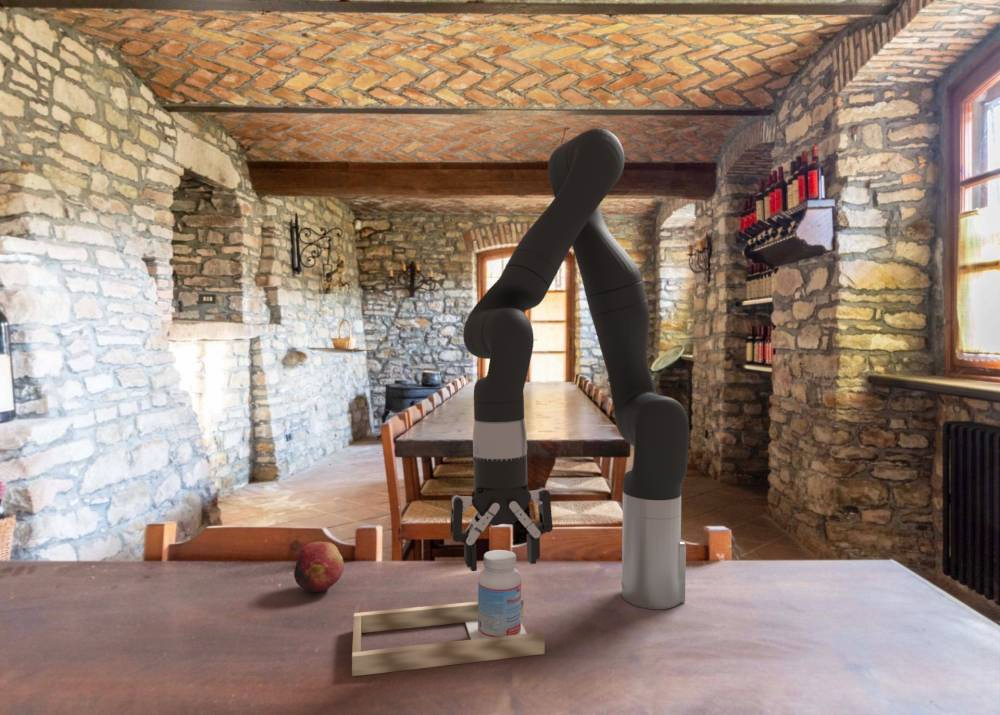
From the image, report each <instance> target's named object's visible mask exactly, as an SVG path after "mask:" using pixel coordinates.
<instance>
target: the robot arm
mask: <svg viewBox="0 0 1000 715" xmlns="http://www.w3.org/2000/svg"><path fill="white" fill-rule="evenodd" d="M547 163H548V165H547V175H548V181H549V185H550V187H551V190H552V193H553V196H554V199H553V200H552V201H551V203H550V204H549V205H548V206H547V208H545V210H544V211H543V212H542V213H541V215H540V216H539V217H538V218H537V219H536V221H535V222H534V223H533V224H532V225H531V227H530V228H529V229H528V230H527V231H526V233H525V234H524V235H523V237H522V238H521V239H520V241H519V242H518V244H517V246H516V247H515V249H514V250H513V252H512V254H511V256H510V258H509V260H508V261H507V264H506V265H505V267H504V268H503V271H502V273H501V275H500V276H499V278H498V279H497V281H496V282H495V283H494V284H493V285H491V287H490V288H489V289H488V290H487V291H486V293H485V294H484V295H483V296H482V297H481V298H480V300H479V301H478V302H477V303H476V305H475V306H474V307H473V309H471V311H470V313H469V315H468V316H467V318H466V321H465V323H464V327H463V334H462V337H463V343H464V346H465V348H466V349H467V351H468V352H469V353H470V354H471V355H473V356H474V357H477V358H479V359H484V360H485V359H486V360H489V363H488V369H487V373H486V376H483V377H481V378H480V379H478V380H477V381H476V382H475V383H474V387H473V419H474V420H473V431H472V455H473V457H472V459H473V460H472V462H473V492H472V494H471V495H464V496H462V495H459V494H457V493H454V494H453V495H451V501H450V502H451V503H450V527H449V528H450V529H449V531H450V532H449V534H450V537H452V540H453V541H454V542H455V543H459V542H460V543H463V553H464V554H463V555H464V556H463V557H464V562H465V565H466V567H467V568H469V569H470V571H471V572H476V571H477V572H478V569H477V568H478V567H477V566H478V565H477V564H478V562H477V561H478V560H477V556H478V554H477V544H476V541H477V539H478V538H479V536H480V535H481V533H484V531H485V530H486V528H487V527H488V525H491V526H492V527H495V526H500V525H503V524H505V525H514V524H515V523H516V522H518V521H519V522H520V523H521V524H522V525H523V527H524V528H525V529H526V531H528V534H526V558H527V559H526V560H527V561H528V563H529V564H530V565H535V564H536V565H537V560H539V559H540V556H541V547H540V546H541V544H540V543H541V542H540V541H541V539H540V538H541V537H542V535H543V534H546V533H551V532H552V530H553V517H552V502H551V493H550V492H549V491H548V490H547V489H546V488H545V487H543V486H538V488H537V489H534V490H529V488H528V453H527V452H528V449H529V448H528V440H527V429H526V423H525V395H524V390H525V386H526V382H527V378H528V373H529V370H530V363H531V359H532V355H533V351H534V350H533V348H534V342H535V341H534V330H533V326H532V324H531V322H530V319H529V317H528V316H527V315H526V313H525V312H527V311H529V310H531V309H533V308H536V307H537V306H539V305H540V304H541V303H542V301H544V299H545V297H546V296H547V293H548V291H549V289H550V288H551V286H552V284H553V282H554V280H555V278H556V276H557V274H558V272H559V270H560V267H561V266H562V264H563V262H564V260H565V259H566V257H567V256H568V253H569V252H570V250H571V248H572V250H573V253H574V257H575V260H576V263H577V267H578V270H579V273H580V277H581V281H582V284H583V289H584V294H585V296H586V301H587V305H588V310H589V314H590V316H591V320H592V323H593V326H594V329H595V333H596V337H597V340H598V345H599V348H600V351H601V355H602V358H603V363H604V364H605V368H606V373H607V377H608V382H609V389H610V395H611V401H612V407H613V408H612V409H613V414H614V419H615V424H616V428H617V430H618V433H619V434H620V436H621V438H623V440H624V441H625V442H627V443H628V444H629V445H631V446H633V447H634V450H633V451H634V454H633V455H634V456H633V464H632V465H633V466H632V468H631V470H630V471H627V472H625V474H624V475H623V478H622V529H621V530H622V534H621V535H622V536H621V537H622V539H621V541H622V542H621V543H622V544H621V551H622V552H621V595H622V598H623V599H624V600H625V601H626V602H628V603H629V604H631V605H634V606H637V607H638V608H639V607H641V608H644V609H651V610H666V609H670V608H673V607H676V606H677V605H679V604H680V603H686V577H687V576H686V573H687V572H686V571H687V570H686V569H687V566H686V565H687V563H686V562H687V559H686V558H687V545H686V542H684V541H682V536H681V535H682V534H681V533H682V527H681V526H682V486H683V484H684V482H685V479H686V477H687V471H688V462H689V461H688V459H689V458H688V457H689V441H690V426H689V418H688V416H687V412H686V410H685V408H684V406H683V405H682V404H681V403H680V402H679V401H678V400H676V399H674V398H672V397H669V396H665V395H660V394H658V393H657V391H656V387H655V385H654V382H653V378H652V376H651V375H652V374H651V371H650V367H649V362H648V341H649V340H648V339H649V334H650V324H651V322H650V321H651V318H650V317H651V315H650V314H651V313H650V312H651V311H650V305H649V302H648V301H649V300H648V297H647V293H646V288H645V285H644V281H643V277H642V274H641V272H640V269H639V268H638V265H637V264H636V262H635V261H634V260H633V259H632V257H631V255H629V253H628V252H627V251H626V250H625V249H624V247H622V245H621V244H620V243H619V241H617V240H616V239H615V237H614V236H613V234H611V232H610V230H609V228H608V226H607V224H606V222H605V220H604V216H603V214H602V209H601V207H600V204H602V202H603V200H604V199H605V198H606V197H607V196H608V194H609V193H610V192H611V190H612V189H613V188H614V186H615V185H616V184H617V182H618V181H619V179H620V178H621V176H622V174H623V171H624V168H625V163H626V161H625V152H624V149H623V145H622V143H621V142H620V140H619V138H618V137H617V136H616V135H615V134H614V133H612V132H611V131H610V130H608V129H606V128H605V129H604V128H602V127H601V128H600V127H599V128H597V127H596V128H591V129H588V130H587V129H586V130H585V131H583V132H581V133H579V134H578V135H576V136H574V137H573V138H571V139H570V140H568V141H566V142H565V143H563V144H561V145H560V146H559V147H557V148H556V149H555V150H554V151H553V152H552V153H551V155H550V157H549V159H548V162H547ZM531 500H533V502H534V504H535V505H536V506H537V508H538V510H537V511H538V522H537V523H534V522H533V521H532V520H531V519H530V517H529V516H528V514H527V513H526V512H525V510H526V508H527V507H528V506H529V504H530V502H531ZM470 505H471V506H472V507H473V508H474V509H475V510H476V513H475V514H474V515H473V516H472V519H471V521H470V523H469V525H468V526H467V527H466V529H465V530H463V514H464V513H466V512H467V510H468V507H469V506H470Z"/></svg>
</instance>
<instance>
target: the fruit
mask: <svg viewBox="0 0 1000 715" xmlns="http://www.w3.org/2000/svg"><path fill="white" fill-rule="evenodd" d="M344 567H345V563H344V558H343V556H342V554H341V553H340V551H339V549H338V547H337V546H336V545H335V544H333V543H332V542H328V541H315V542H311V543H308V544H306V545H305V546H304V547H303V548H302V549H301V550H300V551H299V553H298V556H297V559H296V563H295V568H294V572H293V578H294V580H295V582H296V584H297V585H298V586H299V587H300V588H302V589H303V590H305V591H306V592H312V593H321V592H322V593H323V592H325V591H327V590H329V589H330V588H331V587H333V586H334V585H335V584H336V583H337V582H338V581H339V580H340V579H341V577H342V575H343V572H344V569H345V568H344Z"/></svg>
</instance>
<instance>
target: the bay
mask: <svg viewBox="0 0 1000 715" xmlns="http://www.w3.org/2000/svg"><path fill="white" fill-rule="evenodd" d="M522 617H524V599H523V597H522V596H521V618H522ZM469 621H478V601H471V602H469V601H467V602H460V603H447V604H437V605H436V604H435V605H428V606H415V607H406V608H405V607H404V608H396V609H395V608H394V609H384V610H372V611H363V612H354V613H353V627H352V629H353V632H352V650H351V652H352V653H351V663H352V664H351V676H352V677H356V676H367V675H374V674H375V675H376V674H384V673H391V672H400V671H409V670H420V669H427V668H436V667H444V666H450V665H451V666H452V665H461V664H469V663H477V662H487V661H495V660H503V659H511V658H520V657H527V656H528V657H529V656H536V655H537V656H538V655H544V654H545V644H546V643H545V636H546V635H545V634H544V632H543V631H539V632H529V633H527V632H526V633H527V634H518V635H509V636H500V637H490V638H481V639H472V640H471V639H464V640H454V641H447V642H446V641H444V642H437V643H429V644H418V645H408V646H400V647H392V648H390V647H389V648H382V649H381V648H380V649H379V648H378V649H372V650H371V649H370V650H364V651H362V633H364V634H365V633H373V632H375V633H376V632H382V631H383V632H384V631H393V630H401V629H411V628H422V627H434V626H441V625H442V626H443V625H451V624H461V623H465V622H469Z"/></svg>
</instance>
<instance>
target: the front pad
mask: <svg viewBox="0 0 1000 715" xmlns="http://www.w3.org/2000/svg"><path fill="white" fill-rule="evenodd" d="M464 624H465V627H466V630H467V633H468V636H469V638H470V639H469V640H472V639H481V638H482V637H481V636H480V635H479V633H478V621H469V622H464ZM520 634H527V631H526V628H525V627H524V625H523V623H522V622H521V632H520Z"/></svg>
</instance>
